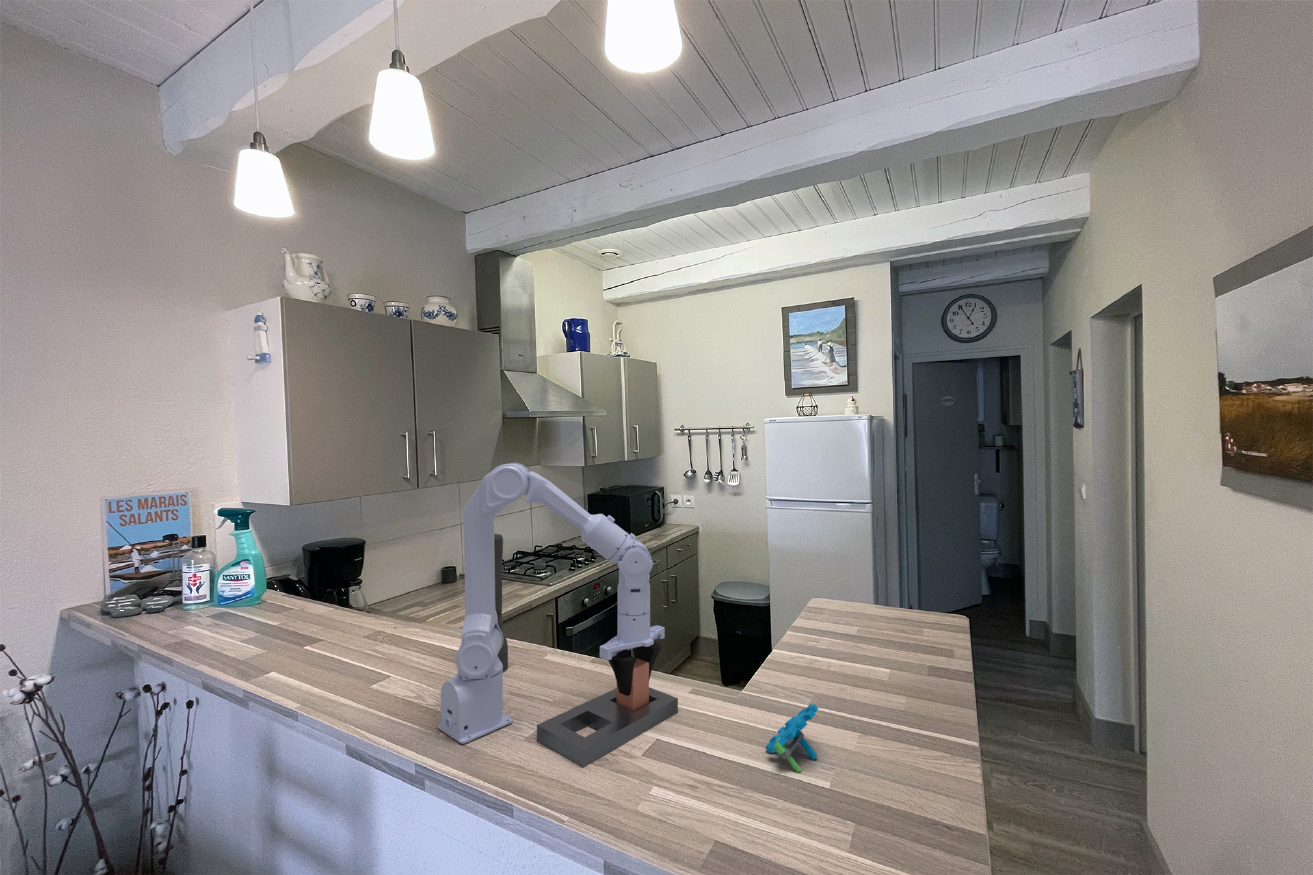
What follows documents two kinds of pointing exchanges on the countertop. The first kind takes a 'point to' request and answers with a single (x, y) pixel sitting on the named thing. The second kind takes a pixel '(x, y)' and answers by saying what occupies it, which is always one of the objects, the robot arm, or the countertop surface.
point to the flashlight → (500, 596)
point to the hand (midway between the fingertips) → (633, 689)
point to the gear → (793, 736)
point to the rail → (603, 725)
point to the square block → (637, 687)
